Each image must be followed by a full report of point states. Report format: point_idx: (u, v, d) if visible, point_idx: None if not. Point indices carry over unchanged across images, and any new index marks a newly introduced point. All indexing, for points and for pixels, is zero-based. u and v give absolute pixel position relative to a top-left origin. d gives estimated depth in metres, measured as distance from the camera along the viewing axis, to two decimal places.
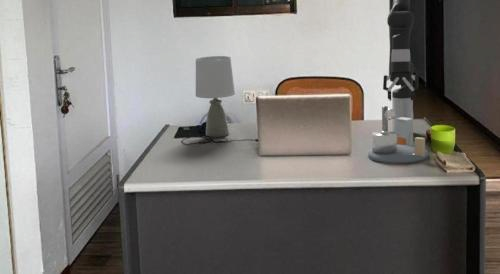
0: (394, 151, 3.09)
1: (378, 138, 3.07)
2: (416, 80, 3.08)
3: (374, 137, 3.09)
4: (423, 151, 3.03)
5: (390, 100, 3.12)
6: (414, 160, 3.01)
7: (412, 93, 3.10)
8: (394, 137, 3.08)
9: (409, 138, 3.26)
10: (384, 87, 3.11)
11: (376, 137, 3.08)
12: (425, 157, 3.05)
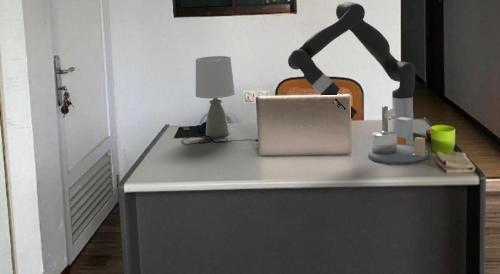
0: (394, 151, 3.09)
1: (378, 138, 3.07)
2: None
3: (374, 137, 3.09)
4: (423, 151, 3.03)
5: (353, 115, 3.16)
6: (414, 160, 3.01)
7: None
8: (394, 137, 3.08)
9: (409, 138, 3.26)
10: None
11: (376, 137, 3.08)
12: (425, 157, 3.05)
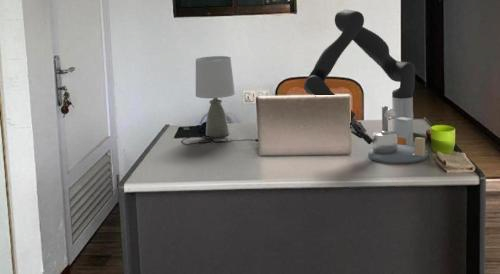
0: (395, 151, 3.09)
1: (379, 138, 3.07)
2: None
3: (375, 137, 3.09)
4: (423, 151, 3.03)
5: (369, 143, 3.14)
6: (415, 160, 3.01)
7: (365, 139, 3.13)
8: (395, 137, 3.08)
9: (409, 138, 3.26)
10: None
11: (377, 137, 3.08)
12: (425, 157, 3.05)
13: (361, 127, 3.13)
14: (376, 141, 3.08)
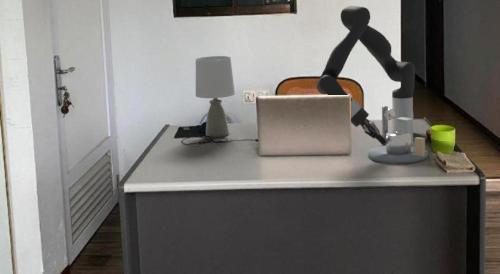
0: (409, 151, 3.08)
1: (393, 138, 3.06)
2: None
3: (389, 137, 3.07)
4: (423, 151, 3.03)
5: (383, 143, 3.12)
6: (414, 160, 3.01)
7: (378, 139, 3.11)
8: (409, 137, 3.06)
9: None
10: None
11: (391, 137, 3.06)
12: (425, 157, 3.05)
13: (374, 127, 3.12)
14: (390, 141, 3.07)
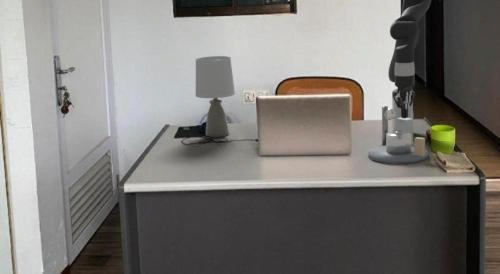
0: (409, 151, 3.08)
1: (393, 138, 3.06)
2: None
3: (389, 137, 3.07)
4: (423, 151, 3.03)
5: None
6: (414, 160, 3.01)
7: None
8: (409, 137, 3.06)
9: None
10: None
11: (391, 137, 3.06)
12: (425, 157, 3.05)
13: (408, 99, 2.93)
14: (390, 141, 3.07)
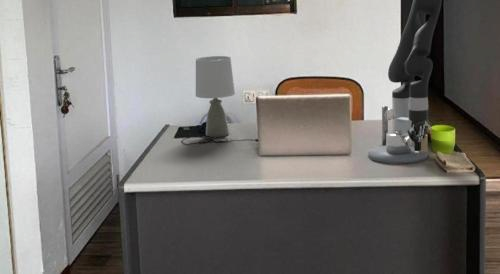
0: None
1: (400, 138, 3.05)
2: None
3: (394, 138, 3.05)
4: None
5: None
6: (425, 157, 3.04)
7: (415, 144, 3.04)
8: None
9: None
10: None
11: (397, 138, 3.05)
12: None
13: (421, 133, 3.03)
14: (396, 142, 3.05)
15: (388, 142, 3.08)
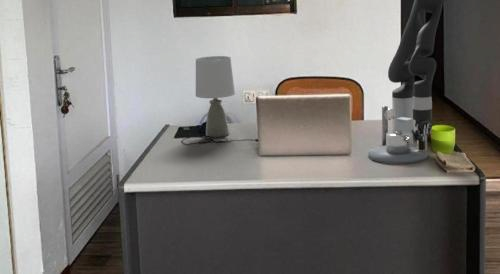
0: None
1: (403, 138, 3.05)
2: None
3: (397, 138, 3.05)
4: None
5: None
6: (427, 156, 3.07)
7: (419, 143, 3.06)
8: None
9: None
10: None
11: (400, 138, 3.05)
12: None
13: (425, 132, 3.04)
14: (399, 142, 3.05)
15: (390, 142, 3.07)
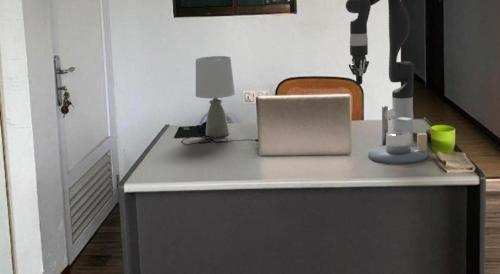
0: None
1: (403, 138, 3.05)
2: None
3: (397, 138, 3.05)
4: None
5: (358, 83, 3.28)
6: (427, 156, 3.07)
7: None
8: None
9: None
10: None
11: (400, 138, 3.05)
12: None
13: (362, 67, 3.25)
14: (399, 142, 3.05)
15: (390, 142, 3.07)
